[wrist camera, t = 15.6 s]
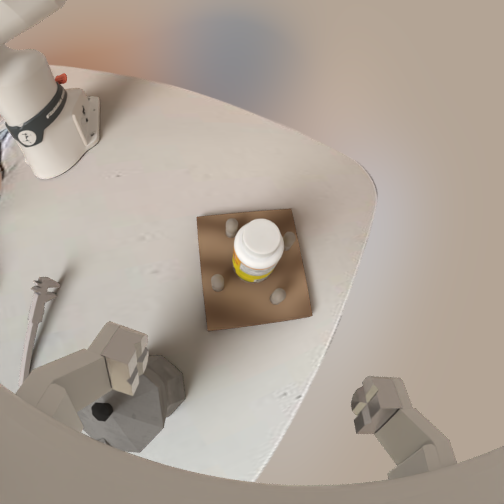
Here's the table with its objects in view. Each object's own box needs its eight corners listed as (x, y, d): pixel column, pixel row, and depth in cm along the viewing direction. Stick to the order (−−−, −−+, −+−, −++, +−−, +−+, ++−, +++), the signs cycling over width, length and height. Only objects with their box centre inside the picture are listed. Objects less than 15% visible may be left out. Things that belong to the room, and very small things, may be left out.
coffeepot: (135, 329, 35) (72, 312, 18) (199, 353, 35) (179, 358, 18) (108, 425, 30) (40, 464, 13) (169, 451, 30) (135, 515, 13)
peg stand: (197, 221, 42) (194, 207, 37) (289, 213, 43) (295, 198, 39) (208, 330, 36) (206, 328, 32) (309, 316, 38) (319, 312, 34)
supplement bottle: (242, 238, 40) (248, 203, 30) (278, 255, 39) (296, 224, 30) (224, 274, 38) (225, 247, 28) (263, 291, 37) (277, 270, 28)
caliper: (57, 282, 36) (36, 271, 30) (62, 285, 36) (41, 274, 30) (21, 390, 29) (-2, 392, 23) (25, 394, 29) (2, 397, 23)
